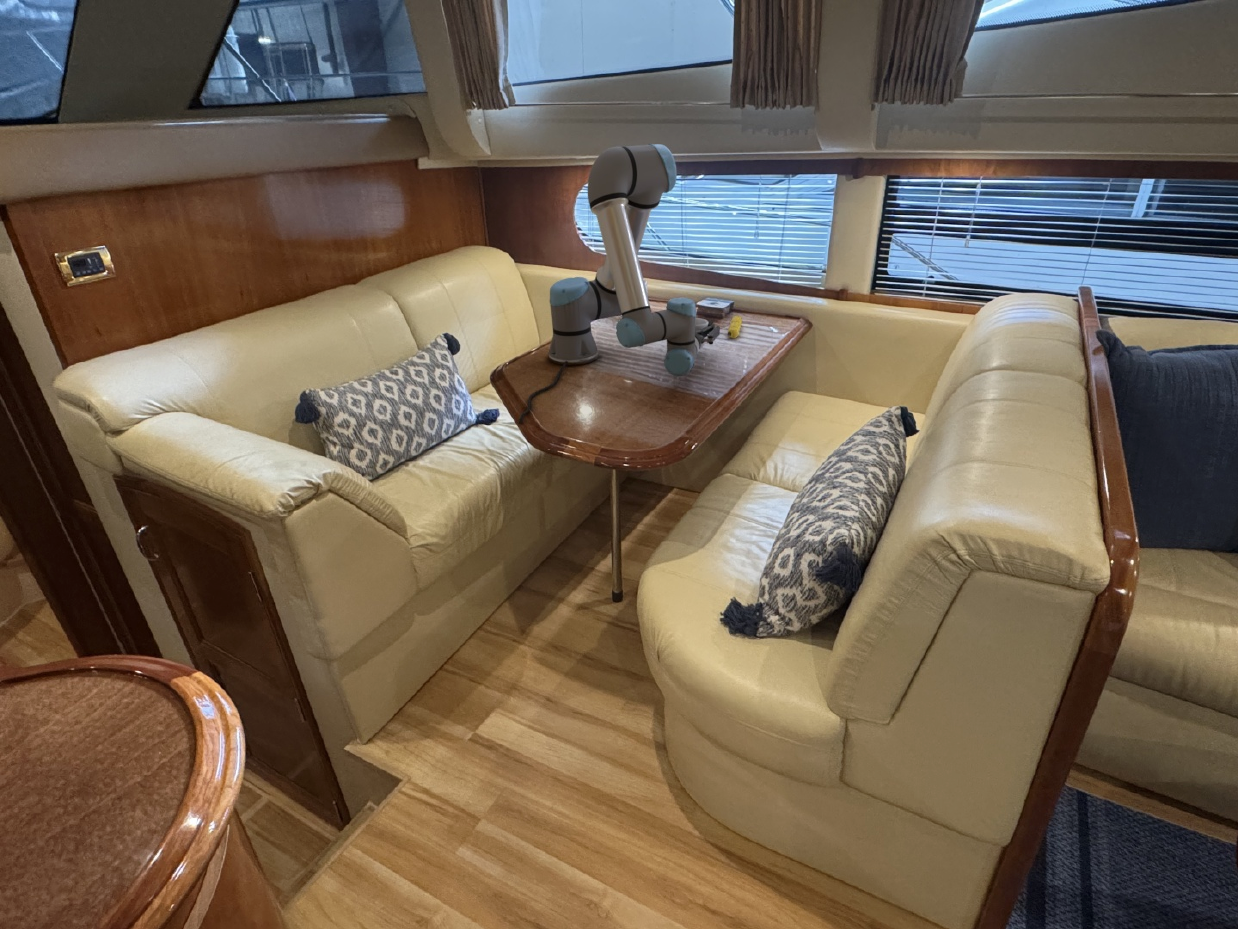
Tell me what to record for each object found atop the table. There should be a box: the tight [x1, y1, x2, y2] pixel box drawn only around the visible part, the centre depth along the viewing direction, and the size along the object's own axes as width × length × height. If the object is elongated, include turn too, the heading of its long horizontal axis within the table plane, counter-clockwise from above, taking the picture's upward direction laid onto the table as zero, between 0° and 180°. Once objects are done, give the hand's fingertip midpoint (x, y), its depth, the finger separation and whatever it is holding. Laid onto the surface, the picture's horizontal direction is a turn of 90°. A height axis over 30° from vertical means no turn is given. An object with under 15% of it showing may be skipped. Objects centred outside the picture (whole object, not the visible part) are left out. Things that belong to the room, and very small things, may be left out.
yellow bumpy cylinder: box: [726, 315, 743, 339], centre depth 221 cm, size 17×4×4 cm, turn 166°
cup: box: [695, 317, 709, 349], centre depth 203 cm, size 11×8×8 cm
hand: (697, 322), depth 206 cm, fingers closed on cup, 8 cm apart
